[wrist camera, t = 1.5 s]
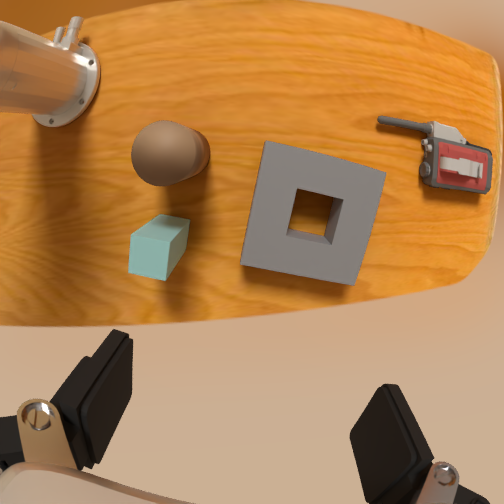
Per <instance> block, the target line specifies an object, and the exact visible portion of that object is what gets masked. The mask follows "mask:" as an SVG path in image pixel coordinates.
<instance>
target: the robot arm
mask: <svg viewBox="0 0 504 504" xmlns="http://www.w3.org/2000/svg"><path fill="white" fill-rule="evenodd" d="M83 21H84V18H82V17H72V19H71V21H70V24H69V26H68V31H67V34H66V37H63V35H64V32H65V29H66V28H64V27H57V29H56V32H55V35H54V36H55V37H54V40H53V42H52V41H50V40H48V39H46V38H43V37H41V36H39V35H36V34H34V33H31V32H29V31H26V30H24V29H22V28H19V27H16V26H14V25H11V24H9V23H6V22H3V21H0V112H9V113H24V114H32V116H33V118H34V119H35V120H36V121H37V122H38V123H40V124H42V125H43V126H47V127H60V126H64V125H66V124H69V123H70V122H72V121H74V120H75V119H76V118H78V117H79V116H80V115H81V114H82V113H83V112H84V111H85V109H86V108H87V107H88V106H89V104H90V102H91V101H92V99H93V97H94V95H95V93H96V90H97V87H98V84H99V79H100V63H99V59H98V57H97V55H96V53H95V52H94V50H93V49H92V48H90V47H89V46H87V45H86V44H83V43H81V42H79V39H78V38H77V37H78V34H79V31H80V30H81V27H82V24H83ZM62 37H63V38H62ZM61 40H62V42H61ZM84 101H85V102H84ZM132 359H133V339H130V338H129V334H127V333H124V332H121V331H118V330H115V329H113V330H112V331H111V332H110V334H109V335H108V336H107V338H106V339H105V340H104V342H103V343H102V344H101V345H100V347H99V348H98V349H97V351H96V352H95V353H94V354H93V356H92V357H88V356H85V357H84V358H83V359H82V360H81V361H80V362H79V363H78V365H77V366H76V367H75V369H74V370H73V371H72V372H71V374H70V375H69V376H68V378H67V379H66V380H65V382H64V383H63V384H62V386H61V387H60V388H59V390H58V391H57V392H56V394H55V395H54V396H53V398H52V399H51V400H50V402H48V401H46V400H42V399H31V400H28V401H26V402H24V403H23V404H22V405H21V406H20V407H19V409H18V411H17V415H15V416H8V417H0V504H194V503H189V502H185V501H180V500H176V499H172V498H168V497H164V496H159V495H156V494H152V493H149V492H145V491H142V490H138V489H135V488H131V487H128V486H125V485H122V484H119V483H116V482H113V481H110V480H107V479H104V478H101V477H98V476H95V475H93V474H90V473H86V472H83V471H81V470H82V469H83V467H84V466H85V467H88V468H90V469H92V468H93V466H94V463H97V464H99V463H100V462H101V460H102V458H103V455H104V453H105V451H106V449H107V446H108V444H109V442H110V440H111V438H112V436H113V434H114V432H115V430H116V427H117V425H118V423H119V421H120V419H121V417H122V415H123V413H124V411H125V408H126V407H127V405H128V402H129V400H130V398H131V395H132V361H133V360H132ZM350 441H351V445H352V449H353V453H354V456H355V460H356V464H357V467H358V472H359V476H360V479H361V484H362V488H363V492H364V496H365V500H366V502H367V503H369V504H490V503H489V501H488V500H487V499H486V498H484V497H482V496H481V495H479V494H476V493H475V492H473V491H471V490H469V489H467V488H465V487H463V486H461V485H459V474H458V472H457V470H456V469H455V468H454V467H453V466H452V465H451V464H449V463H446V462H436V463H435V464H433V463H432V460H433V459H434V456H433V454H432V452H431V450H430V448H429V446H428V444H427V441H426V439H425V438H424V435H423V433H422V431H421V429H420V427H419V425H418V423H417V421H416V419H415V417H414V415H413V413H412V411H411V409H410V407H409V405H408V403H407V401H406V399H405V397H404V395H403V393H402V392H401V390H400V388H399V386H398V385H396V384H383V385H382V386H381V387H379V388H378V389H377V390H376V392H375V393H374V395H373V397H372V398H371V400H370V402H369V403H368V405H367V407H366V408H365V410H364V412H363V413H362V415H361V416H360V418H359V419H358V421H357V422H356V424H355V425H354V427H353V428H352V430H351V432H350Z"/></svg>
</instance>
